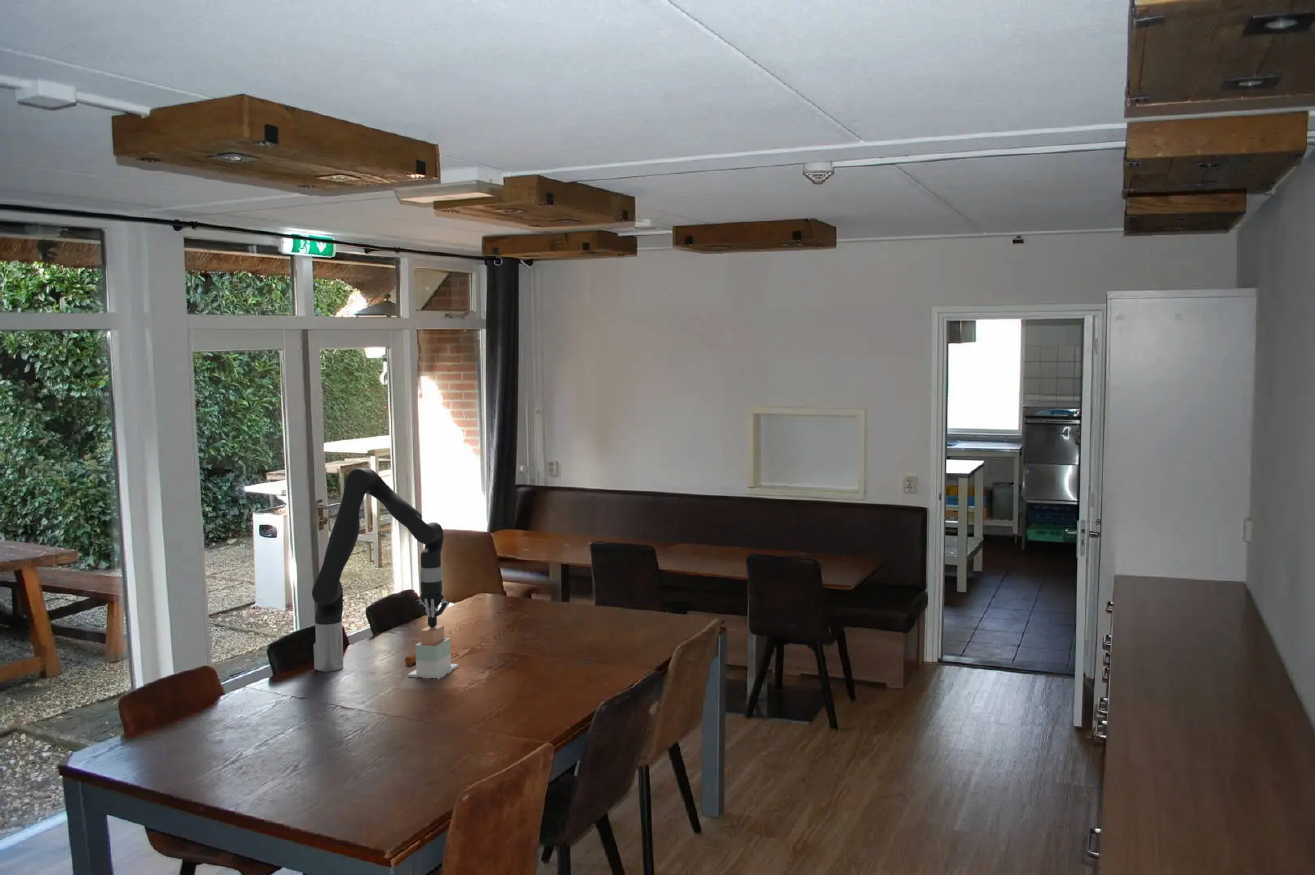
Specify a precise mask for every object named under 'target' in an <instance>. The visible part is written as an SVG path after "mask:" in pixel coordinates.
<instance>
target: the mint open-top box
mask: <svg viewBox="0 0 1315 875" xmlns="http://www.w3.org/2000/svg"><path fill="white" fill-rule="evenodd" d="M414 647H415V654H416V662H415V669H414V670H413V671H411V672H409V673H408V678H417V677H422V678H421V679H430V678H434V679H435V678H437V679H435V680H441V679H442V678H443V677H445V676H446V674H447V673H448V674H449V673H451V672H453V671H454V670H456V669H457V668H459V663H451V662H452V659H451V658H452V657H451V656H452V655H451V638H450V637H444V641H443V642H441V643H439V644H437V645H436V646H431V645H421V641H420V642H418V643H416V644H415V646H414ZM453 669H454V670H453ZM452 670H453V671H452ZM448 674H447V675H448ZM441 677H442V678H441ZM440 678H441V679H440ZM434 679H433V680H434Z"/></svg>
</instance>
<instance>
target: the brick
mask: <svg viewBox="0 0 1315 875" xmlns="http://www.w3.org/2000/svg"><path fill="white" fill-rule="evenodd" d="M444 638H445V625H442V624H437V625H436V627H434V628H430V627H429V626H426V627H424V628H423V629H421V630H420V642H421V645H431V646H436V645H437V644H439V643H441V642H443V641H444Z"/></svg>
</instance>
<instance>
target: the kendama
mask: <svg viewBox="0 0 1315 875" xmlns="http://www.w3.org/2000/svg"><path fill="white" fill-rule="evenodd" d="M404 662H405V664H406V665H407V664H412V665H413V664H414V663H415V664H416V653H415V654H412V655H409V656H406V657H405V660H404Z"/></svg>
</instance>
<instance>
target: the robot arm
mask: <svg viewBox="0 0 1315 875" xmlns="http://www.w3.org/2000/svg"><path fill="white" fill-rule="evenodd" d="M343 488H344V489H343V491H342V492H343V493H342V498H341V503H340V506H339V509H338V512H337V514H336V518H335V522H334V524H333V527H332V530H331V533H330V536H329V539H328V543H327V546H326V550H325V554H324V558H323V563H322V565H321V569H320V571H319V573H318V576H317V578H316V579H315V582H314V584H313V586H312V588H311V589H312V590H311V595H312V599H313V601H314V603H315V604H316V605H317V607H316V611H315V616H314V623H315V624H314V625H315V642H314V643H313V657H314V658H313V659H314V660H313V661H314V662H313V664H314V665H313V666H314V670H317V671H319V672H327V673H328V672H335V671H339V670H341V669H344V649H343V648H344V642H343V639H344V638H343V616H342V615H343V611H344V591H343V589H344V588H343V585H342V582H341V576H342V573H343V571H344V569H345V566H346V565H347V564H348V561H349V559H350V557H351V555H352V553H353V552H354V549H355V547H356V543H357V540H358V537H359V534H360V528H361V525H360V524H361V522H360V510H361V506H362V503H363V500H364V498H365V495H366V494H367V495H370V496H371V497H373V498H375V499H377V500H378V501H379V502H380V503H381V504H382V505H383V507H385V509H386V510H387V511H388V513H389V514H390V515H391V516H392V517H393V519H395V520H396V521H397V522H399V523H400V524H401V525H402V526H404V527H406V529H407V530H408V531H409V533H410V534H411V536H413V538H414V539H415V540H416V541H417V542H419V543H421V544H422V545H424V548H423V550H422V551H421V553H420V575H419V576H420V577H419V580H420V593H421V594H420V596H419V598H418V599H417V600H415V601H414V605H415V606H416V607H417V609H418V610H419V611H420V613H421V615H423V616H426V617H427V625H428V626H429V627H430V628H434V627H436V625H438V617H439V616H441V615H442V614H443V613H444V611H445V610H446V609H447V608H448V606H449V605H450V601H449V600H448V601H447V600H445V598H444V595H443V573H442V571H443V570H442V559H441V557H442V556H441V553H442V549H443V542H444V530H443V527H442V525H441V524H440V523H438V522H433V521H432V522H429V523H426V522H425V521H424V520H423V519H422V518H423V516H422V514H421V512H419V511H418V510H417V509H416V508H414V507H413V506H412V505H411V504H410V503H408V501H406V500H404V499H403V498H402V497H401V496H399V495H398V494H397V493H396V492H395V491H394V490H393V489H392V488H391V487H390V486H389V485H388V484H387V482H385V481H384V480H383V479H382V477H381V476H380V475H379V474H378V473H377V472H376V471H375V470H373V469H371V468H369V467H358V468H353V469H352V470H351V471H350V472H349V473H348V474H347V476H346V479H345V483H344V487H343ZM439 606H440V607H439ZM428 626H427V627H428Z"/></svg>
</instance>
